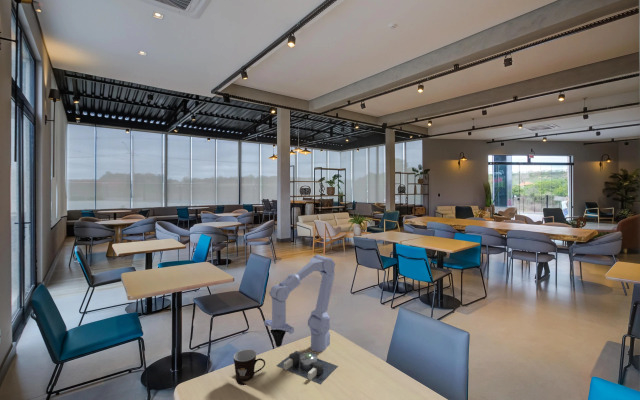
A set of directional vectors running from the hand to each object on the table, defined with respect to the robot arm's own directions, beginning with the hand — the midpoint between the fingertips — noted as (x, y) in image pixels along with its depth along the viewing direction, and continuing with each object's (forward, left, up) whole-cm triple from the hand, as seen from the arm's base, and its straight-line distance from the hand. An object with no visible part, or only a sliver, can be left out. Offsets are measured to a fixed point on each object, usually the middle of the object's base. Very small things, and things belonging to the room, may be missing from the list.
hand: (278, 345), depth 128 cm
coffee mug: (+14, -4, -9) cm, 17 cm away
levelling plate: (-5, +11, -9) cm, 15 cm away
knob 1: (-2, +5, -8) cm, 9 cm away
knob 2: (-2, +17, -8) cm, 19 cm away
